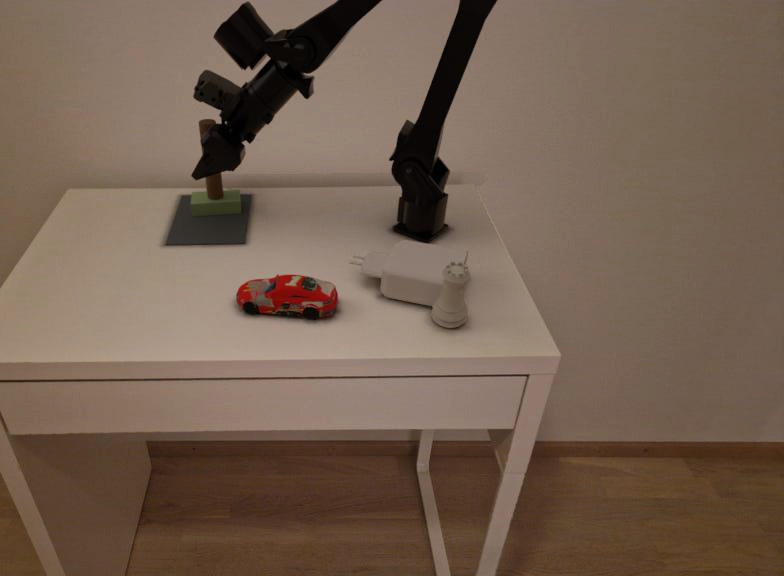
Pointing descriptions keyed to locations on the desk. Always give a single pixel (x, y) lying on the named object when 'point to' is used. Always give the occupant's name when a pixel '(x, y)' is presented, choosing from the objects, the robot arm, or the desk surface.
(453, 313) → the rook chess piece
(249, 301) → the race car
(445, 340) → the desk surface
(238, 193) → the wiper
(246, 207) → the mat
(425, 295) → the charger
